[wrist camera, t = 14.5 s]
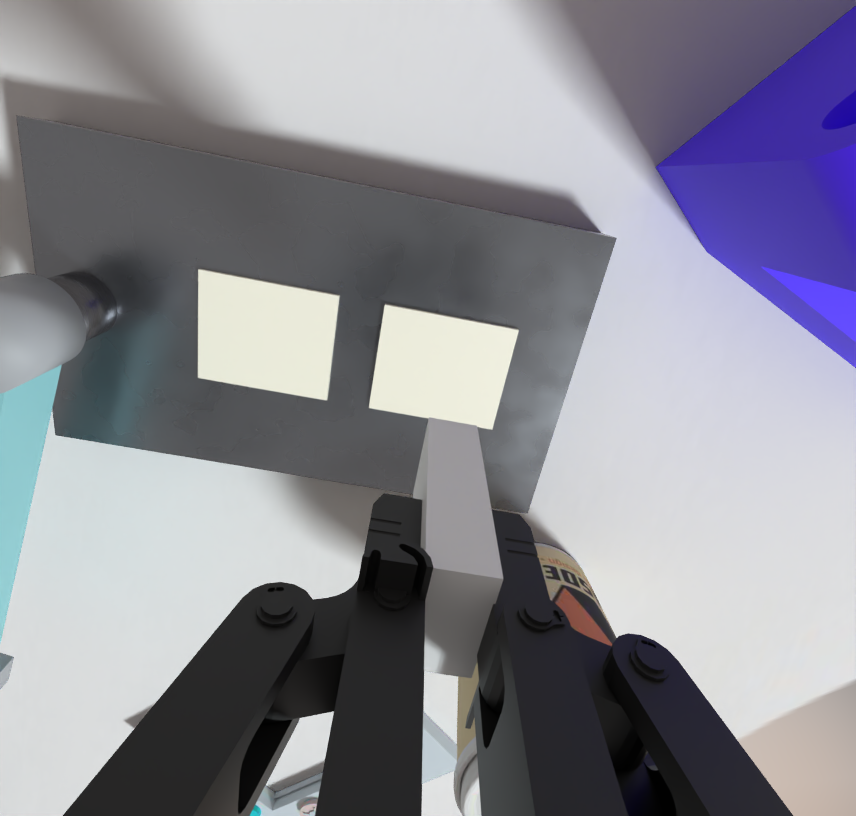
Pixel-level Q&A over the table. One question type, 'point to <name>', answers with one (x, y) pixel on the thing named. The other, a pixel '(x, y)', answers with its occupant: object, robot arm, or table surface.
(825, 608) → the table surface
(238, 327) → the label
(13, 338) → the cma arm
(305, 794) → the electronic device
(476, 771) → the coffee cup
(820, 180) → the bracket
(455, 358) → the label
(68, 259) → the plate
